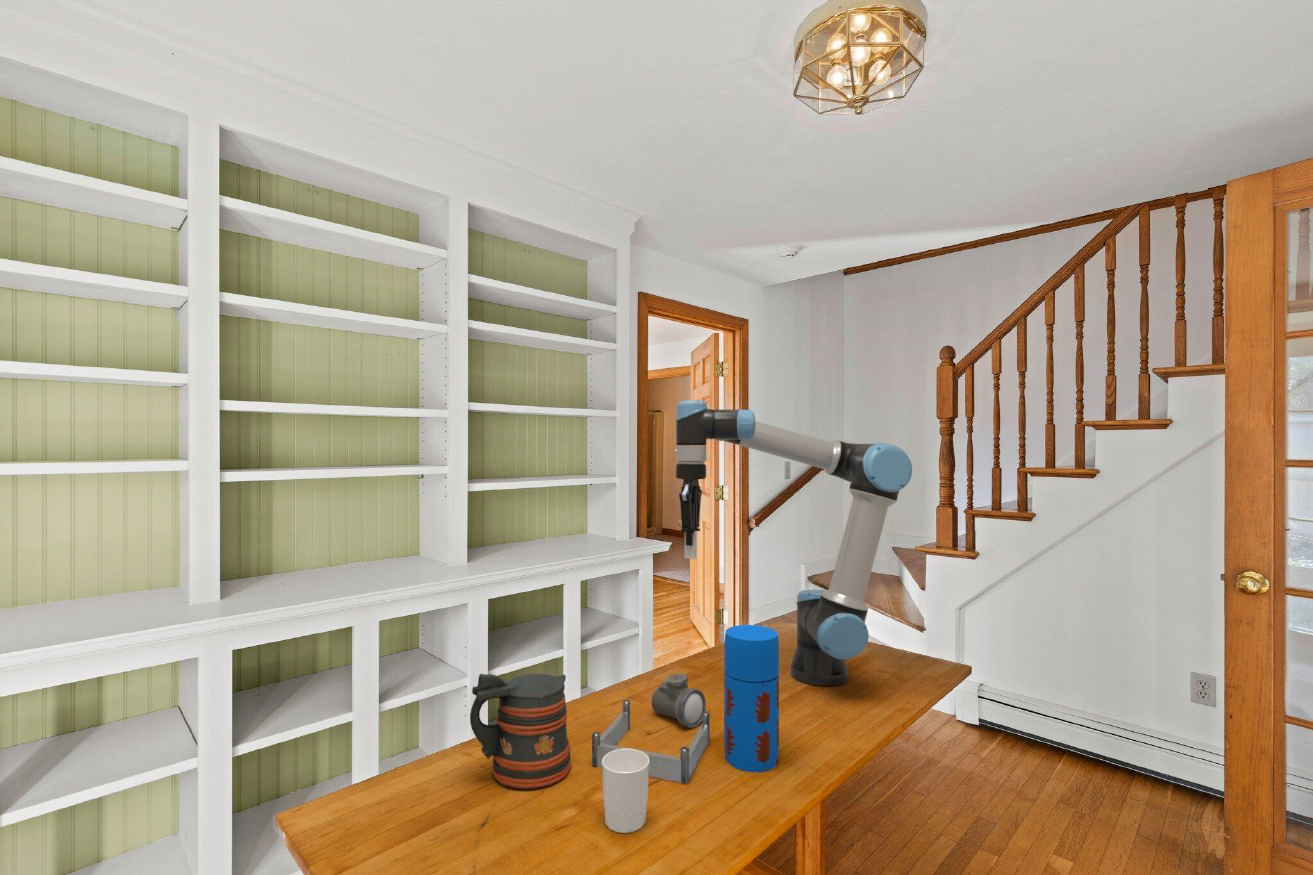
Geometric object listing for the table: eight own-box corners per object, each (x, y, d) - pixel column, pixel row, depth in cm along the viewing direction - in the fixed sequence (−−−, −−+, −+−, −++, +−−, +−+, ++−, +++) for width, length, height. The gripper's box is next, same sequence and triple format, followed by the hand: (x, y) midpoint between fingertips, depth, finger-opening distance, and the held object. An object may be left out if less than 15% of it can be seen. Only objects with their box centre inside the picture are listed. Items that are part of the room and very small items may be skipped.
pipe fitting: (710, 720, 137) (704, 674, 137) (686, 734, 131) (679, 687, 132) (673, 709, 145) (667, 666, 146) (648, 722, 140) (642, 678, 140)
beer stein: (485, 809, 103) (486, 691, 104) (459, 771, 115) (460, 665, 116) (584, 775, 114) (584, 669, 114) (551, 744, 126) (551, 647, 127)
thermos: (782, 750, 124) (782, 627, 125) (774, 776, 114) (775, 643, 114) (730, 741, 128) (730, 622, 128) (718, 766, 118) (718, 637, 118)
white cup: (601, 807, 104) (602, 749, 104) (647, 805, 105) (647, 747, 105) (601, 837, 96) (601, 773, 96) (650, 834, 97) (651, 771, 97)
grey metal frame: (624, 726, 134) (624, 699, 134) (710, 740, 128) (710, 712, 128) (590, 765, 118) (590, 734, 118) (687, 784, 111) (687, 751, 111)
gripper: (684, 462, 158) (683, 552, 158) (668, 463, 146) (668, 561, 145) (712, 462, 156) (711, 554, 155) (699, 463, 143) (698, 563, 143)
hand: (690, 557), depth 150 cm, fingers closed
